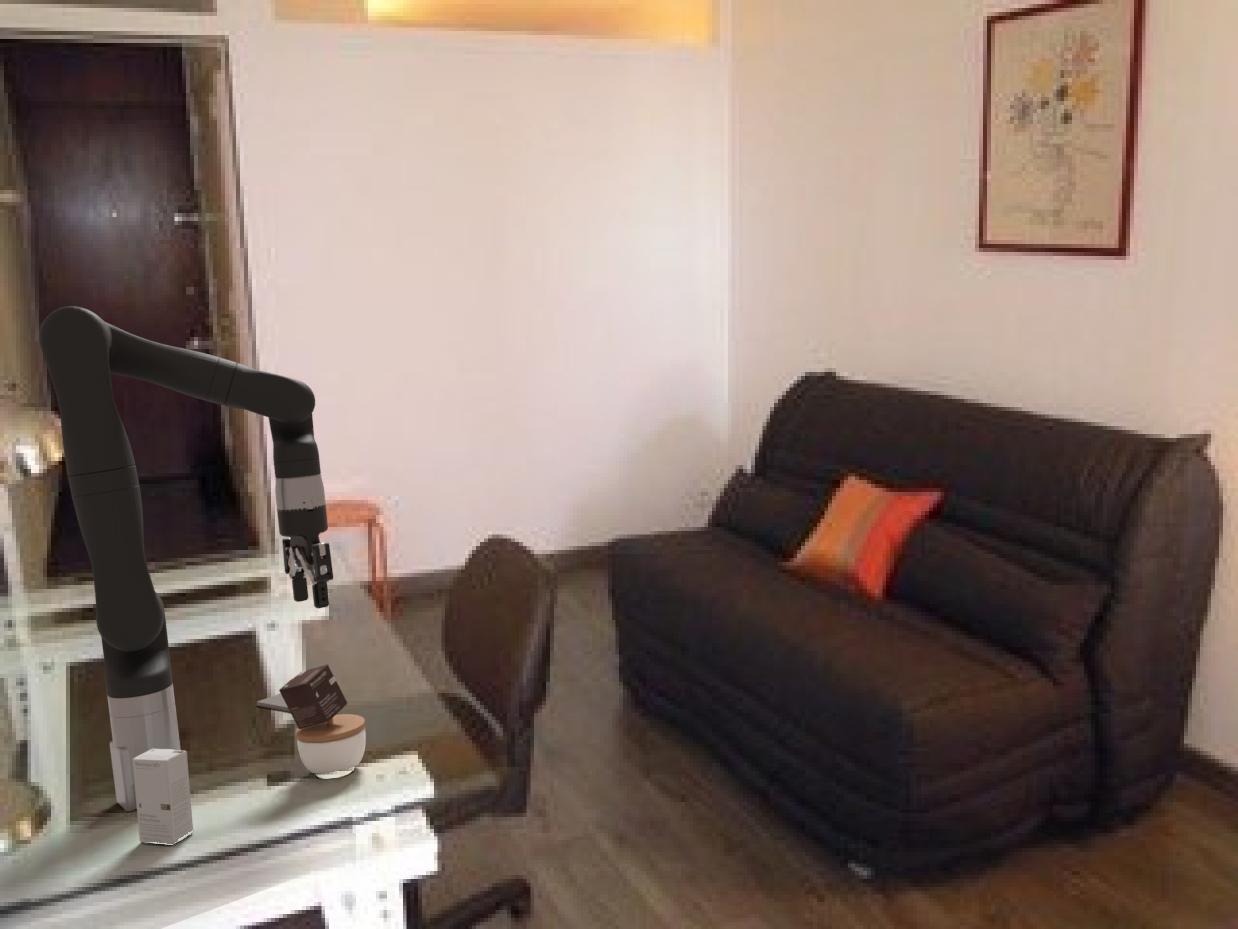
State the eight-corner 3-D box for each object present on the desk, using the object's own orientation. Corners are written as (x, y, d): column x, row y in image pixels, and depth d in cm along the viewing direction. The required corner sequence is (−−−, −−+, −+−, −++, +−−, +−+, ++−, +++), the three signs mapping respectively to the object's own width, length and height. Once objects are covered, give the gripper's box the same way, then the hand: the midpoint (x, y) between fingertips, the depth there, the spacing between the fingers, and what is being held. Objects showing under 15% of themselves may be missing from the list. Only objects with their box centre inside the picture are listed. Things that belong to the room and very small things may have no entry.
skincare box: (138, 844, 147) (127, 759, 146) (161, 830, 151) (151, 747, 150) (175, 847, 145) (164, 760, 144) (197, 832, 149) (187, 749, 148)
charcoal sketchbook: (302, 714, 201) (301, 710, 201) (257, 705, 210) (256, 701, 210) (343, 698, 209) (343, 694, 209) (299, 691, 218) (298, 687, 218)
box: (327, 724, 163) (306, 683, 162) (298, 731, 166) (277, 690, 164) (349, 703, 169) (328, 663, 167) (320, 710, 171) (300, 670, 170)
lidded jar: (379, 758, 173) (373, 702, 173) (355, 784, 163) (349, 724, 162) (316, 761, 175) (310, 705, 174) (289, 786, 164) (282, 727, 163)
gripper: (262, 505, 173) (272, 603, 174) (295, 509, 162) (305, 614, 163) (306, 499, 178) (316, 594, 179) (341, 503, 166) (351, 605, 168)
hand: (311, 604), depth 171 cm, fingers open, 8 cm apart
